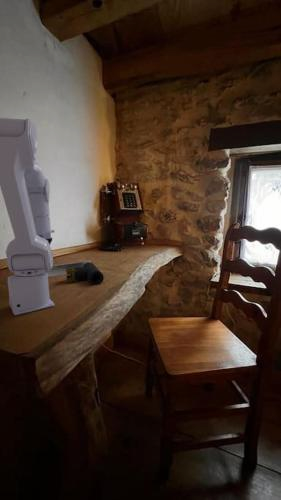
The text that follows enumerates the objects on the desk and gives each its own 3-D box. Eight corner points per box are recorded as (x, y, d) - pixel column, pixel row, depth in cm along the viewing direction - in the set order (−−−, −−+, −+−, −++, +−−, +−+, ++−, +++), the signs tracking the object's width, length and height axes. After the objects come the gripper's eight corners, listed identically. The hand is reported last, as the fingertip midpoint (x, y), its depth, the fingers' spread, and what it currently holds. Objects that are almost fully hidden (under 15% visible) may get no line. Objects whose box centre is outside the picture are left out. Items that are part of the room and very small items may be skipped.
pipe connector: (68, 272, 74) (65, 263, 88) (68, 288, 75) (65, 276, 88) (103, 270, 78) (95, 261, 92) (103, 285, 79) (95, 274, 93)
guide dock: (43, 280, 84) (42, 269, 83) (40, 277, 87) (39, 267, 86) (94, 271, 95) (94, 261, 95) (90, 269, 99) (90, 260, 98)
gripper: (59, 216, 68) (62, 261, 71) (47, 216, 80) (50, 254, 82) (34, 217, 64) (38, 264, 66) (24, 216, 76) (28, 257, 78)
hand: (43, 259), depth 74 cm, fingers closed
